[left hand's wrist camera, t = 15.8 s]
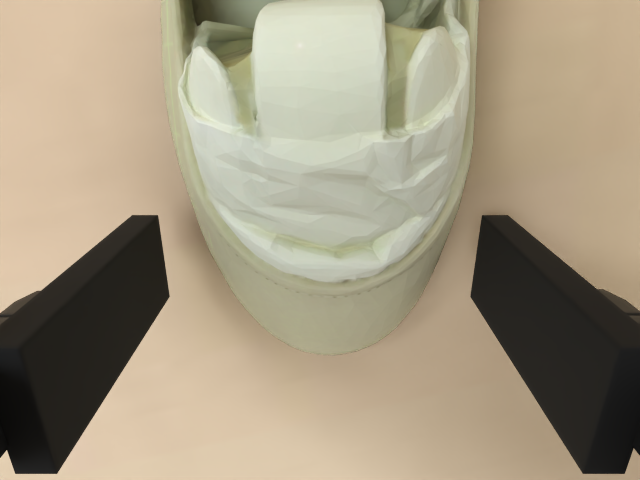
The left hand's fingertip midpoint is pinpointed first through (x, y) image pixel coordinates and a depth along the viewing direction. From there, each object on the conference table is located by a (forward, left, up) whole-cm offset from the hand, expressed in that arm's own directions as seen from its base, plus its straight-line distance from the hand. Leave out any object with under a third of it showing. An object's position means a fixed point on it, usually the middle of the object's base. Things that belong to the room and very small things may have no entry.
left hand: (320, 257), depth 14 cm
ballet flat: (+7, +4, -2) cm, 8 cm away
